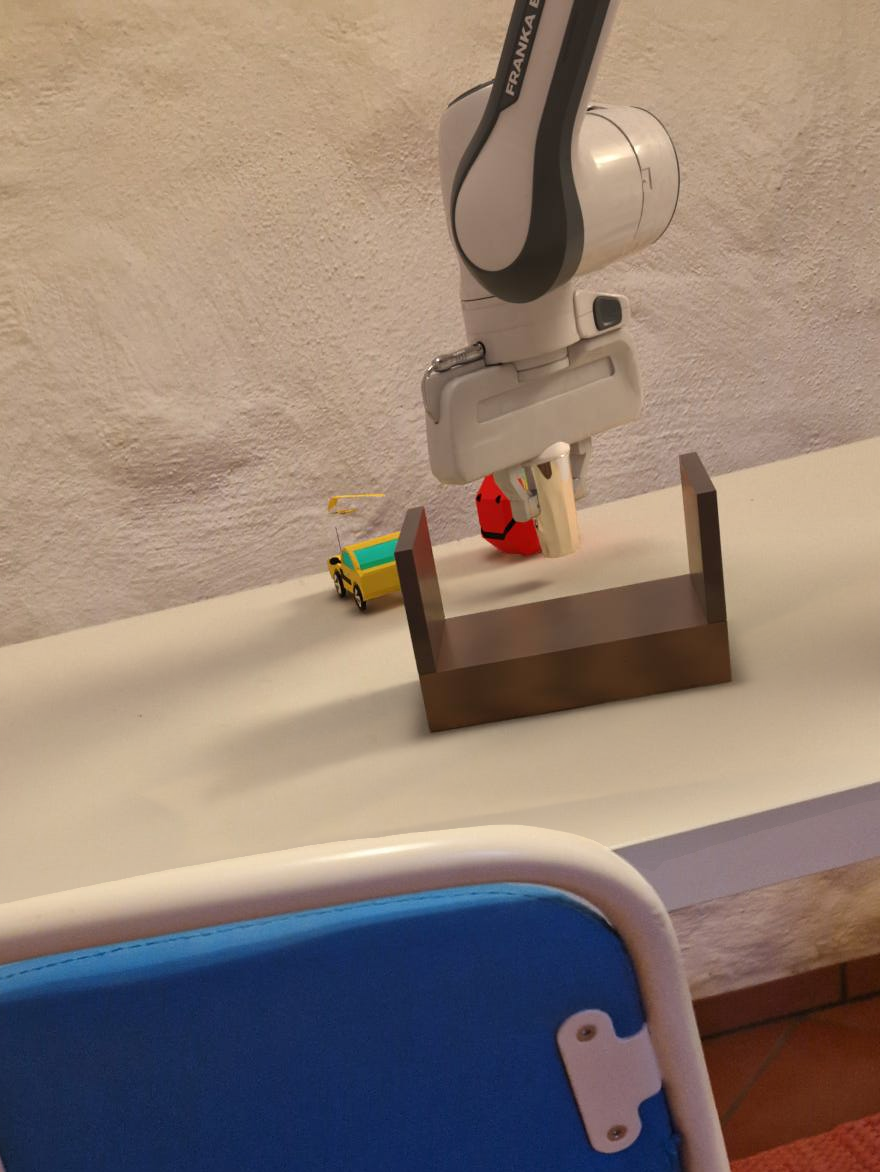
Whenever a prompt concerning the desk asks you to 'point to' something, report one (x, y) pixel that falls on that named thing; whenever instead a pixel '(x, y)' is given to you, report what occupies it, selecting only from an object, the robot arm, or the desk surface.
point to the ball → (504, 522)
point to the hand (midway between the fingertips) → (551, 509)
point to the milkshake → (553, 500)
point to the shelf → (570, 631)
